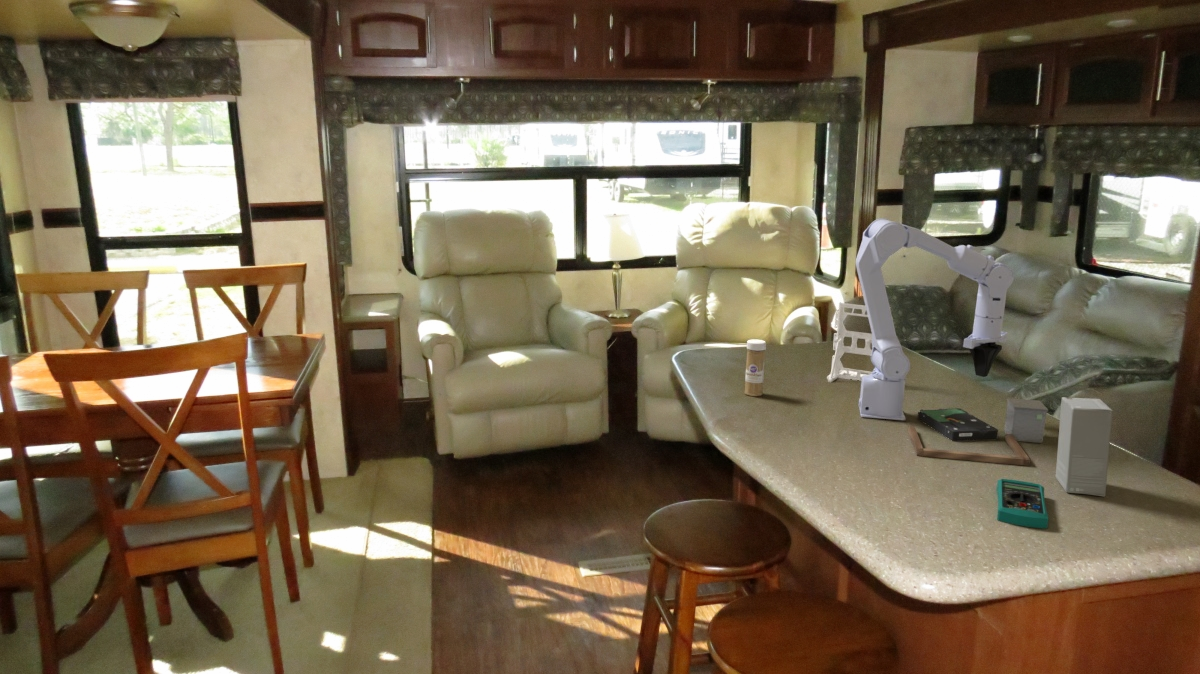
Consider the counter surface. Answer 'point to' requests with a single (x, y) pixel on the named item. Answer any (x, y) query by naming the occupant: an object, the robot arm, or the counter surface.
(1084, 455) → the skincare box
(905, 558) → the counter surface
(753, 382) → the sprinkles bottle
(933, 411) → the disk drive
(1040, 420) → the junction box
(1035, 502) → the digital multimeter
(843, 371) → the white open rack frame
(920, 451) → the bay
